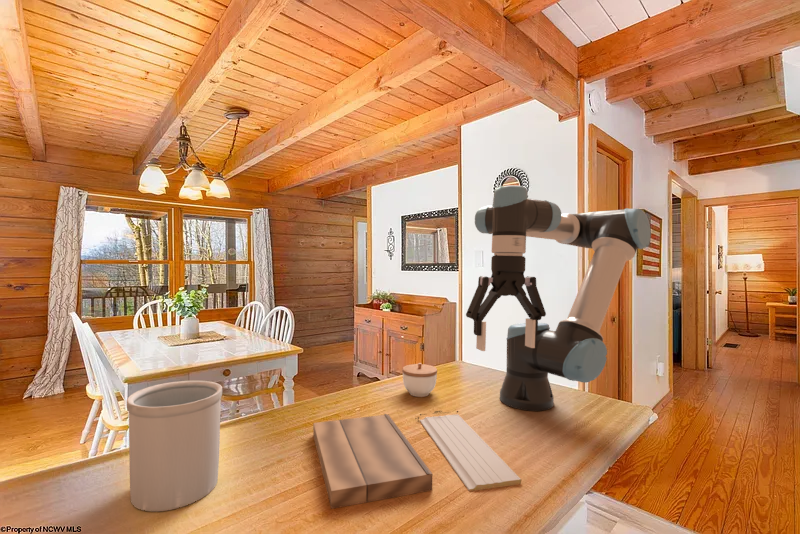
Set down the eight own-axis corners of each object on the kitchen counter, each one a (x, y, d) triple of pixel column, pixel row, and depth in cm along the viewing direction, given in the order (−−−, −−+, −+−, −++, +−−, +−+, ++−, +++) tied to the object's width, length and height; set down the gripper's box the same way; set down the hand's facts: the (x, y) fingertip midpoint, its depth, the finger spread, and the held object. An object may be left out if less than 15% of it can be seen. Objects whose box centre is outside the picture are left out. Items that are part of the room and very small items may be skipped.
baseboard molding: (461, 495, 72) (521, 487, 75) (461, 479, 72) (521, 472, 75) (414, 423, 102) (457, 420, 105) (414, 412, 102) (458, 409, 105)
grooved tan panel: (388, 426, 99) (388, 413, 99) (432, 490, 72) (432, 472, 72) (313, 435, 93) (313, 422, 93) (331, 508, 67) (331, 490, 66)
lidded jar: (400, 388, 128) (400, 359, 127) (433, 387, 129) (433, 358, 128) (404, 400, 117) (404, 368, 117) (440, 399, 118) (440, 368, 118)
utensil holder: (155, 467, 79) (155, 379, 78) (233, 465, 80) (233, 378, 79) (106, 516, 64) (105, 408, 63) (202, 513, 65) (202, 407, 64)
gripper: (468, 253, 84) (465, 355, 84) (563, 256, 91) (561, 349, 92) (452, 253, 91) (450, 347, 91) (542, 255, 98) (540, 342, 99)
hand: (505, 348), depth 91 cm, fingers open, 12 cm apart
